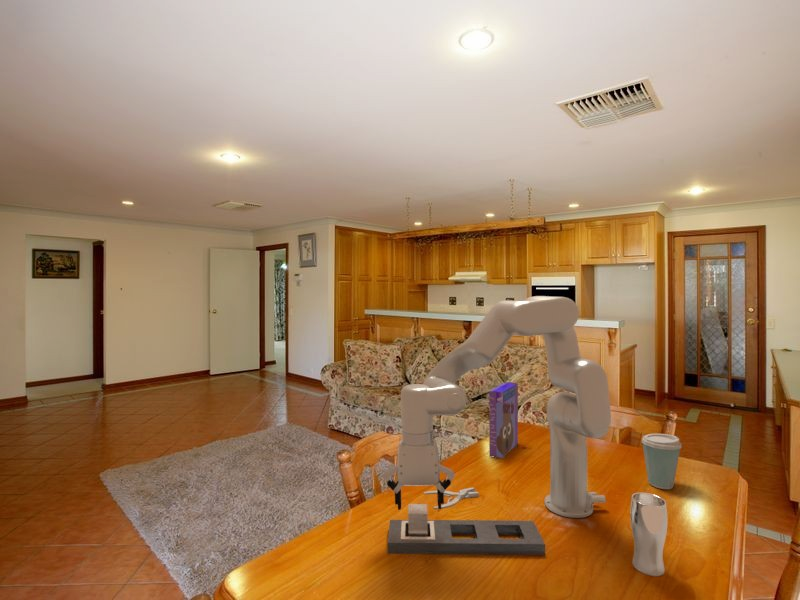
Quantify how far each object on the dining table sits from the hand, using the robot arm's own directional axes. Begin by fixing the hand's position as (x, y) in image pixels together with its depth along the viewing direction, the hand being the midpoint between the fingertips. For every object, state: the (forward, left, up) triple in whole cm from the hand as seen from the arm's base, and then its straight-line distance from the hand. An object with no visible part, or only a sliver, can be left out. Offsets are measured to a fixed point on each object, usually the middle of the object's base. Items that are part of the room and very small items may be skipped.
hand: (419, 506), depth 105 cm
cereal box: (-33, -59, -9) cm, 68 cm away
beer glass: (-50, +9, -9) cm, 51 cm away
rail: (-11, 0, -8) cm, 13 cm away
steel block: (0, 0, -8) cm, 8 cm away
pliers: (-10, -22, -9) cm, 26 cm away
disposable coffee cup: (-75, -31, -9) cm, 81 cm away
